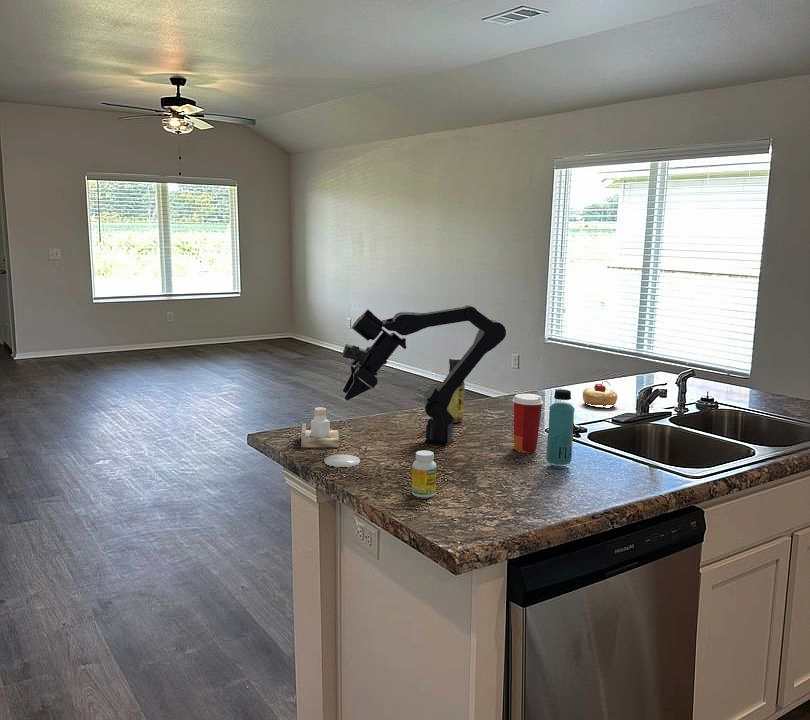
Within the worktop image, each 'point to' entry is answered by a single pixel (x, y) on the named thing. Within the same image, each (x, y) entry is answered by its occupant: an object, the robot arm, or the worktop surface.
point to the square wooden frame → (318, 439)
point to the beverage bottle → (560, 429)
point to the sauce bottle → (456, 397)
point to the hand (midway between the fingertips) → (344, 395)
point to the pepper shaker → (320, 424)
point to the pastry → (599, 395)
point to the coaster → (342, 460)
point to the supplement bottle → (424, 474)
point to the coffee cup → (526, 421)
